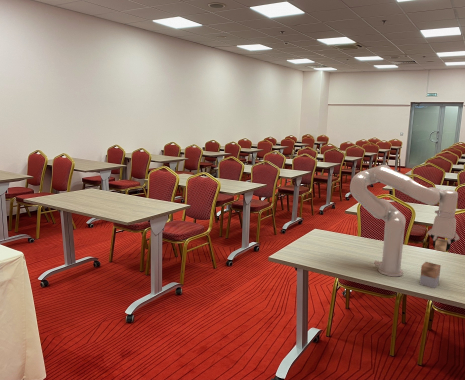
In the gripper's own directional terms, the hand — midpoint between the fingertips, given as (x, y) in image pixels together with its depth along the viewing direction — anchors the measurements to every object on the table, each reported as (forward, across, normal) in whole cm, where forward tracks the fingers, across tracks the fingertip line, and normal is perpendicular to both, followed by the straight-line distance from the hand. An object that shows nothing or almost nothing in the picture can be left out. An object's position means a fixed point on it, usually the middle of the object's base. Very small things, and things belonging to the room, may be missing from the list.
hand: (441, 248), depth 200 cm
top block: (+12, -2, -8) cm, 15 cm away
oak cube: (+1, 0, 0) cm, 1 cm away
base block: (+17, -2, -7) cm, 19 cm away
